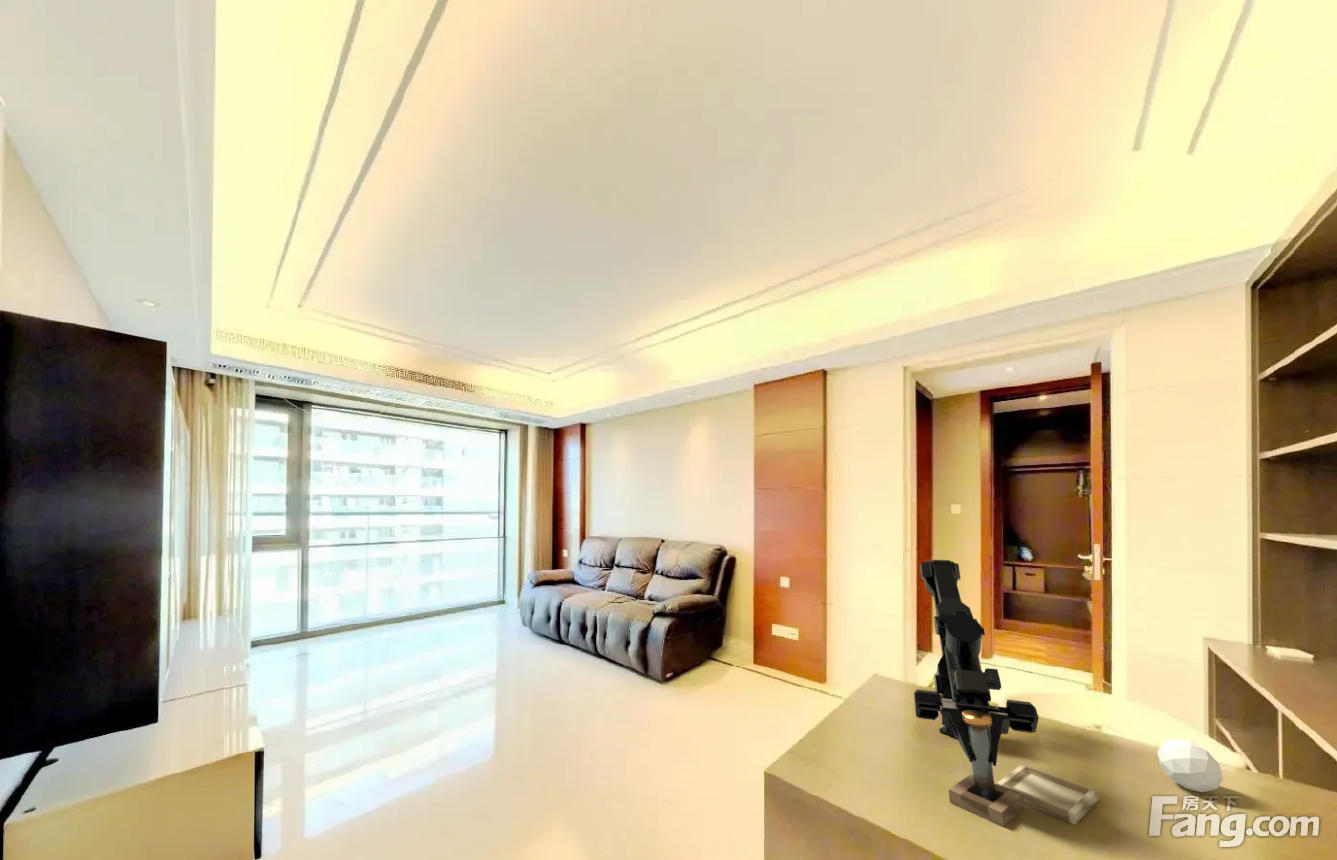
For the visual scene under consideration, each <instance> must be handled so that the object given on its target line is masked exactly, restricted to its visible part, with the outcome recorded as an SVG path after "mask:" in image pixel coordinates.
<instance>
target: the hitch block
mask: <svg viewBox="0 0 1337 860" xmlns="http://www.w3.org/2000/svg"><path fill="white" fill-rule="evenodd" d="M994 784H995V793H996V801H995V802H991V801H989V800H986V799H984V798H982V797H979V796H977V795H975V789H974V779H973V774H969V775H968V776H966V777H964V778H963V779H962V780H961V781H959V782H957V783H956V784H954V785H953V786H951V787H950V788H948V797H949V803H950V804H953V805H955V806H957V807H958V808H961V809H963V810H966V811H967V812H970V813H972V814H974V815H976V816H979V817H981V818H983V819H985V820H986V821H987V820H988V821H989V822H992V823H994V824H996V825H998V824H999V825H998V826H1001V827H1004V826H1006V825H1007V824H1008V823H1009V822H1010V821H1012V819H1014V818H1015V817H1016V816H1017V815H1018V814H1020V813H1021V811H1023V810H1024V809H1025V804H1024V803H1023V796H1022V795H1021V794H1019V793H1016V792H1014V791H1011V790H1009V789H1006V788H1004V787H1001V786H999V785H997V783H994Z"/></svg>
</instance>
